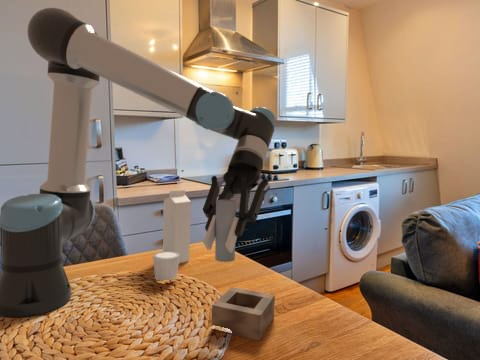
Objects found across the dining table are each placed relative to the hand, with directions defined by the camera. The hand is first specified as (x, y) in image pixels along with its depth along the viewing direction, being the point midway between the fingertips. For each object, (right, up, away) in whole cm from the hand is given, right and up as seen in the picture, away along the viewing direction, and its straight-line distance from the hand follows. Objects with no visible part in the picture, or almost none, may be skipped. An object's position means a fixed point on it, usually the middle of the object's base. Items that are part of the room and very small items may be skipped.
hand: (217, 247), depth 70 cm
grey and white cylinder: (-15, -14, +26) cm, 33 cm away
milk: (-16, -12, +42) cm, 46 cm away
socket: (+5, -17, +4) cm, 18 cm away
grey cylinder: (+1, -3, +4) cm, 5 cm away
